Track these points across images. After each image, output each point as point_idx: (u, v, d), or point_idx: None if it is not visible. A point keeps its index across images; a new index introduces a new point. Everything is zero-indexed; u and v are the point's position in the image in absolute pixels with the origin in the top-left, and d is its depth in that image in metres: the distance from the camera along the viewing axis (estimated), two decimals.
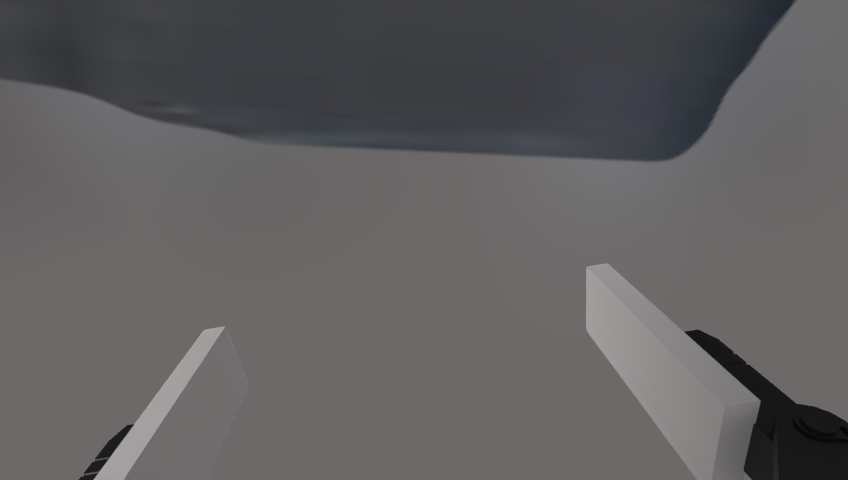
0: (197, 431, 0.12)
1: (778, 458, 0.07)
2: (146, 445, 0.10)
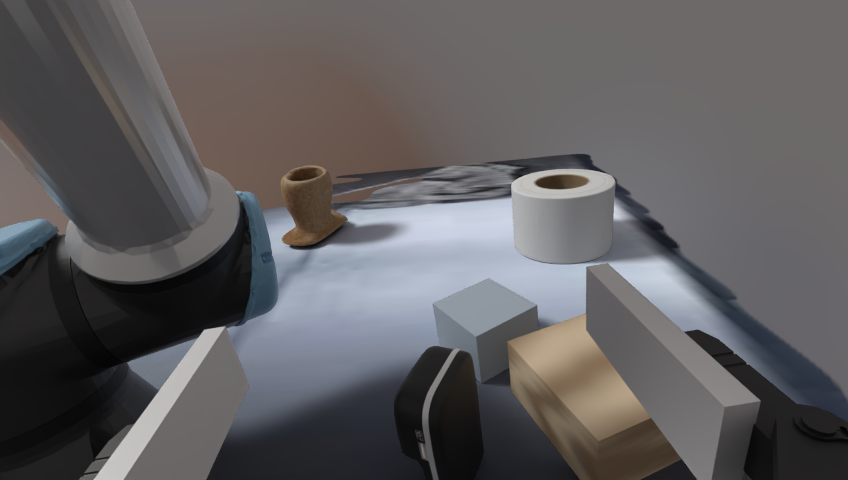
0: (197, 431, 0.12)
1: (778, 458, 0.07)
2: (146, 445, 0.10)
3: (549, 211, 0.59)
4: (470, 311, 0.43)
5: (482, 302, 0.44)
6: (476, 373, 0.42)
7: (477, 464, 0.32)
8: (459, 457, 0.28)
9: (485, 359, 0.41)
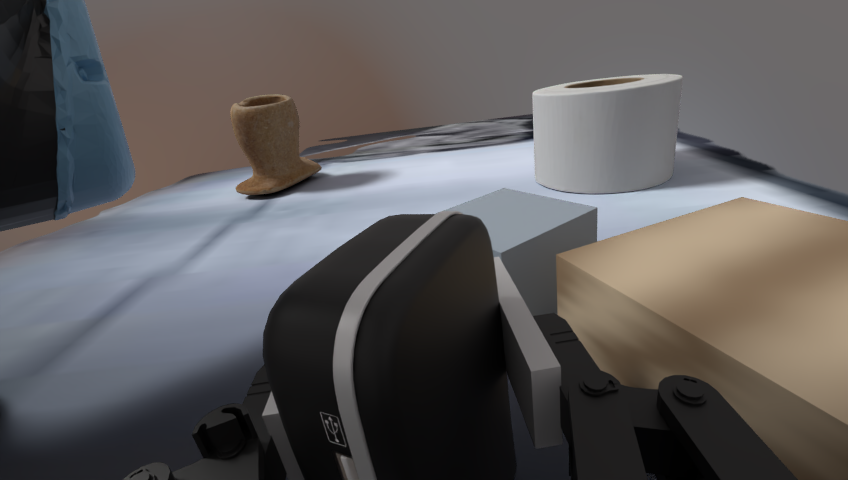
0: None
1: (572, 421, 0.09)
2: None
3: (591, 113, 0.41)
4: None
5: (501, 212, 0.26)
6: None
7: None
8: None
9: None
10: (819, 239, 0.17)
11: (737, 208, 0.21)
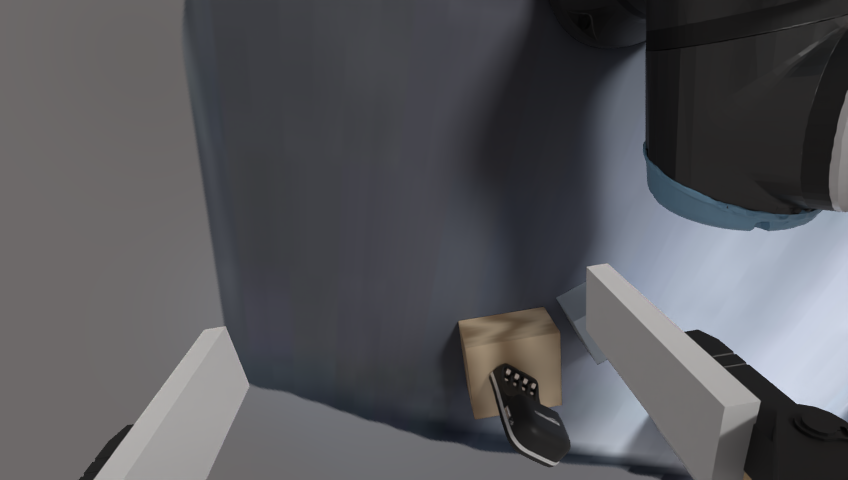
0: (197, 431, 0.12)
1: (778, 458, 0.07)
2: (146, 445, 0.10)
3: None
4: None
5: None
6: (562, 298, 0.55)
7: None
8: None
9: (565, 312, 0.54)
10: None
11: (554, 397, 0.55)
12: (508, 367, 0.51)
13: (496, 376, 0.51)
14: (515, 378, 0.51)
